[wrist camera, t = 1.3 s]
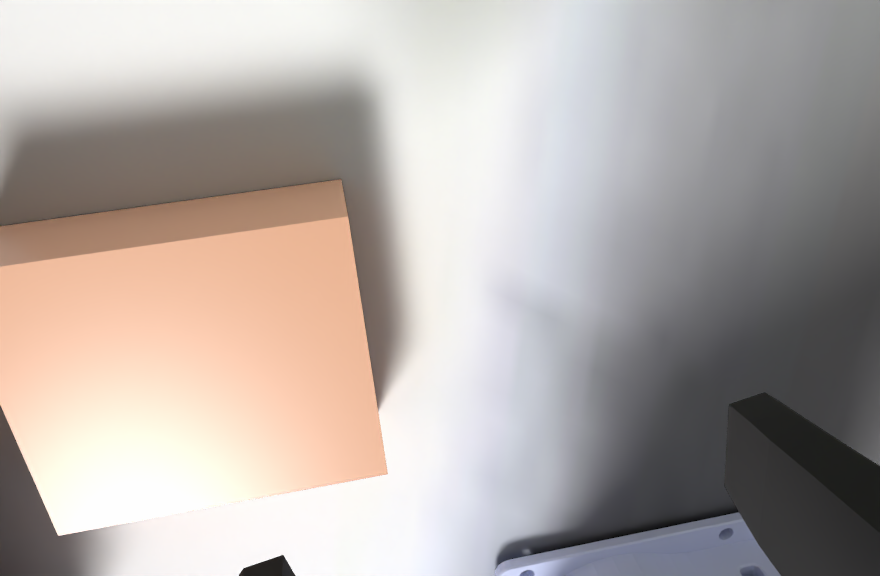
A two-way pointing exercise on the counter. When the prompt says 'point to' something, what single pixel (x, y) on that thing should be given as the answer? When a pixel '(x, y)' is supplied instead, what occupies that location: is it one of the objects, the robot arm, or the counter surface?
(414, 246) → the counter surface
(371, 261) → the counter surface
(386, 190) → the counter surface
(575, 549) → the robot arm
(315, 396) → the peach rectangular block
